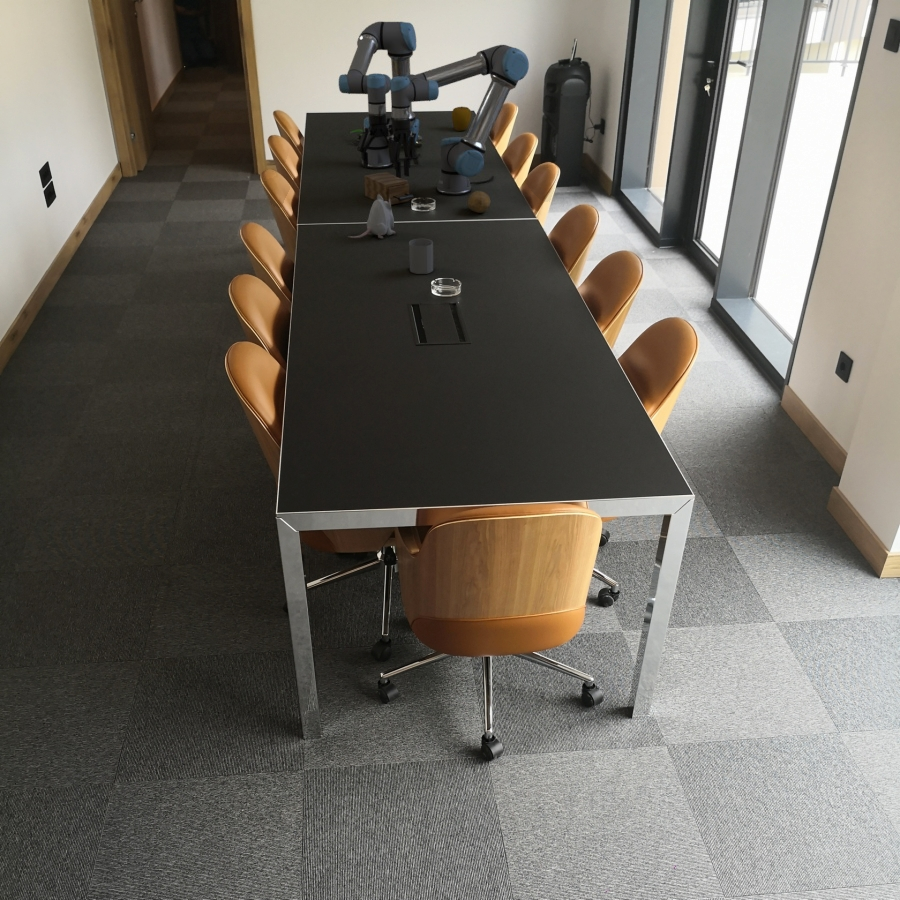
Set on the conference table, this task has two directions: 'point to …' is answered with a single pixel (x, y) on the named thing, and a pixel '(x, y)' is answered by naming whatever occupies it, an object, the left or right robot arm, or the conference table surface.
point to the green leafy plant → (358, 135)
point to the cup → (421, 256)
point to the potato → (478, 201)
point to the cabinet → (381, 185)
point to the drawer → (399, 193)
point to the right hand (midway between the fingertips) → (402, 176)
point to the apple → (461, 118)
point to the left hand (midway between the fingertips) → (379, 165)
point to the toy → (379, 219)
